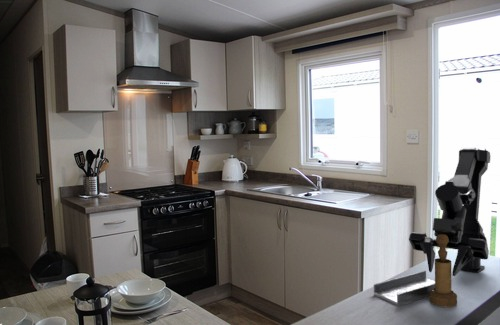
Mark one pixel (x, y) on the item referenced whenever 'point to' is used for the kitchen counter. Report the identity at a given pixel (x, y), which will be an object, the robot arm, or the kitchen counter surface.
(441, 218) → the robot arm
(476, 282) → the kitchen counter surface
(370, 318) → the kitchen counter surface
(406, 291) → the floor track
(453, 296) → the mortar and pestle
